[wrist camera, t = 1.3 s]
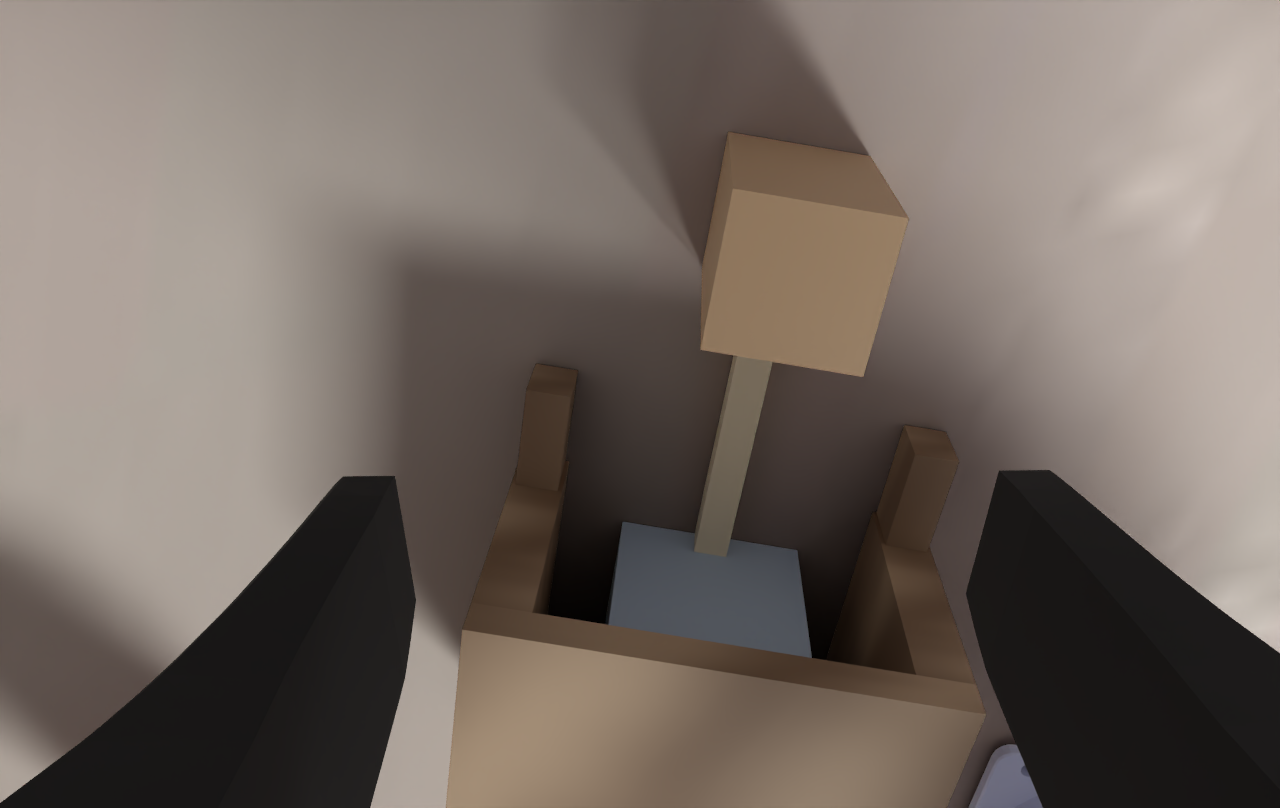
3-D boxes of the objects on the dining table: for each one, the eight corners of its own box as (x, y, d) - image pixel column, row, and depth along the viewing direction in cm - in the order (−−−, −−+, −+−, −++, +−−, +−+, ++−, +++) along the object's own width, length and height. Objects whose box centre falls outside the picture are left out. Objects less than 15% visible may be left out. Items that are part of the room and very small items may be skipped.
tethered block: (905, 162, 21) (952, 225, 17) (760, 682, 27) (769, 816, 23) (693, 125, 21) (688, 180, 17) (598, 656, 27) (580, 787, 23)
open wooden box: (950, 432, 23) (1030, 611, 18) (840, 750, 28) (875, 974, 22) (531, 362, 23) (472, 519, 17) (493, 694, 28) (436, 904, 22)
